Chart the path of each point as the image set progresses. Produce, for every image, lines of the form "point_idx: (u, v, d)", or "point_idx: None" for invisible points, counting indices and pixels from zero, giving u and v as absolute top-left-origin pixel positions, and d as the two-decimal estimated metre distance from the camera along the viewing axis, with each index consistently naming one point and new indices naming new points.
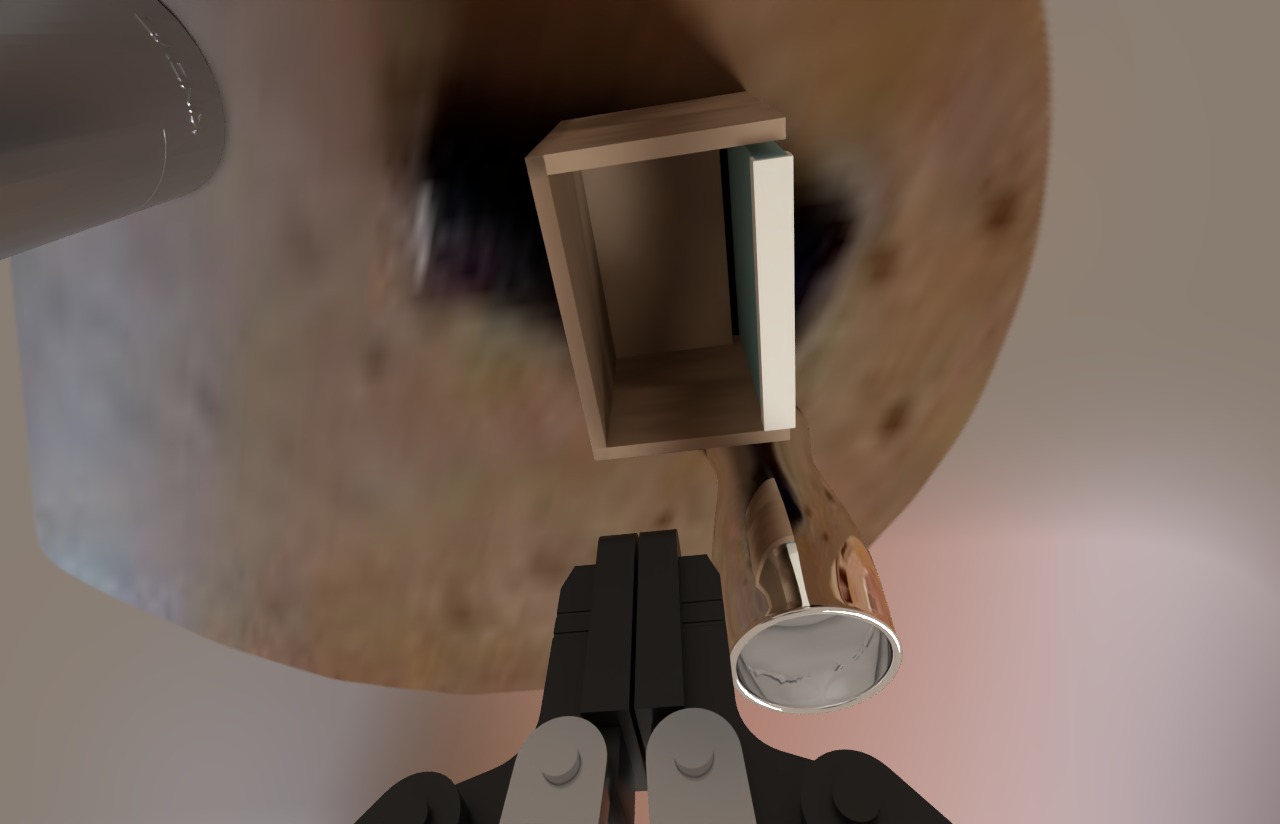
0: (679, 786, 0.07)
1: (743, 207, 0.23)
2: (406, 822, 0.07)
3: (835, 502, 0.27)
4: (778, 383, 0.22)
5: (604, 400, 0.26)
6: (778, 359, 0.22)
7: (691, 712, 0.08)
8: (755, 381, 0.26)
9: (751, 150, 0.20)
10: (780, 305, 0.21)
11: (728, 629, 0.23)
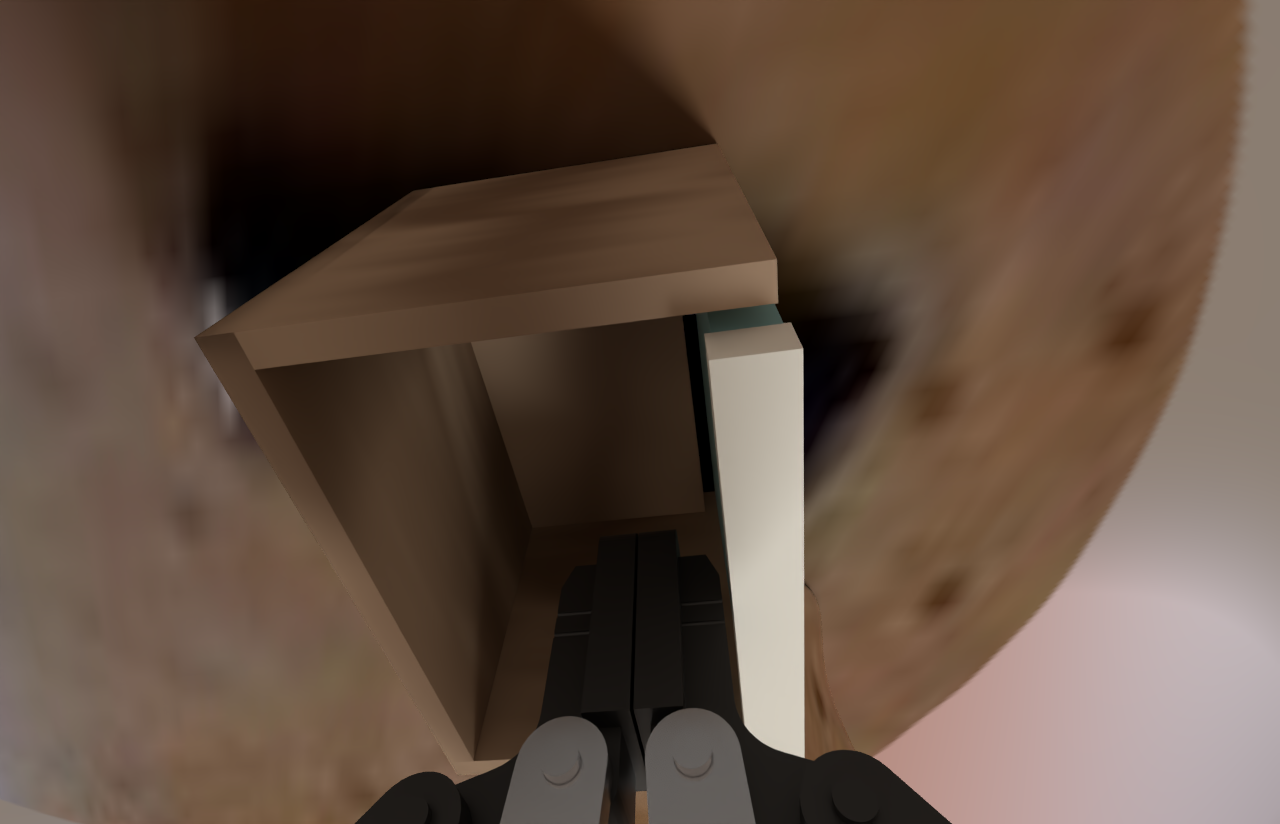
0: (678, 786, 0.07)
1: (707, 370, 0.12)
2: (406, 823, 0.07)
3: None
4: (773, 707, 0.12)
5: (478, 662, 0.15)
6: (772, 677, 0.11)
7: (690, 712, 0.08)
8: None
9: None
10: (776, 602, 0.10)
11: None
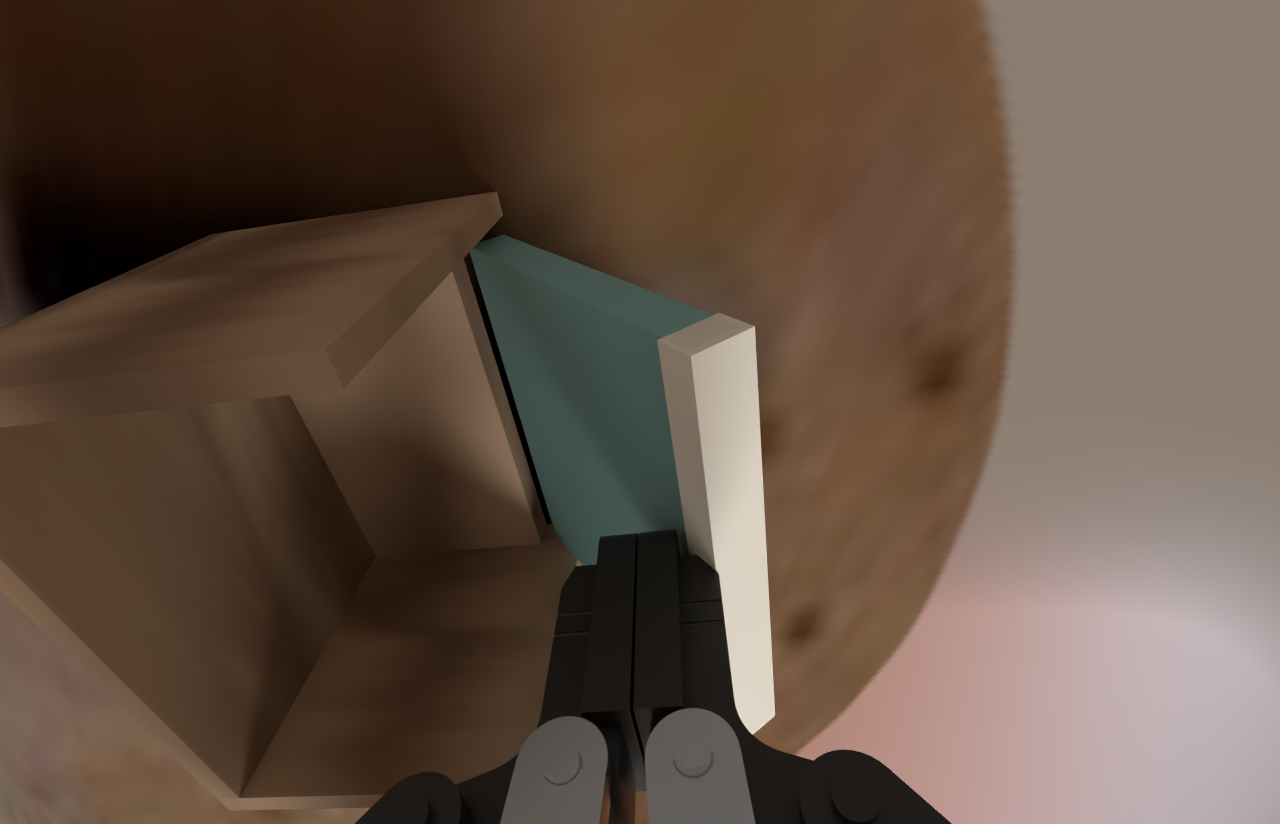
0: (678, 786, 0.07)
1: (586, 397, 0.13)
2: (407, 822, 0.07)
3: None
4: (751, 676, 0.13)
5: (260, 698, 0.16)
6: (749, 646, 0.12)
7: (690, 712, 0.08)
8: None
9: (632, 318, 0.10)
10: (748, 570, 0.11)
11: None
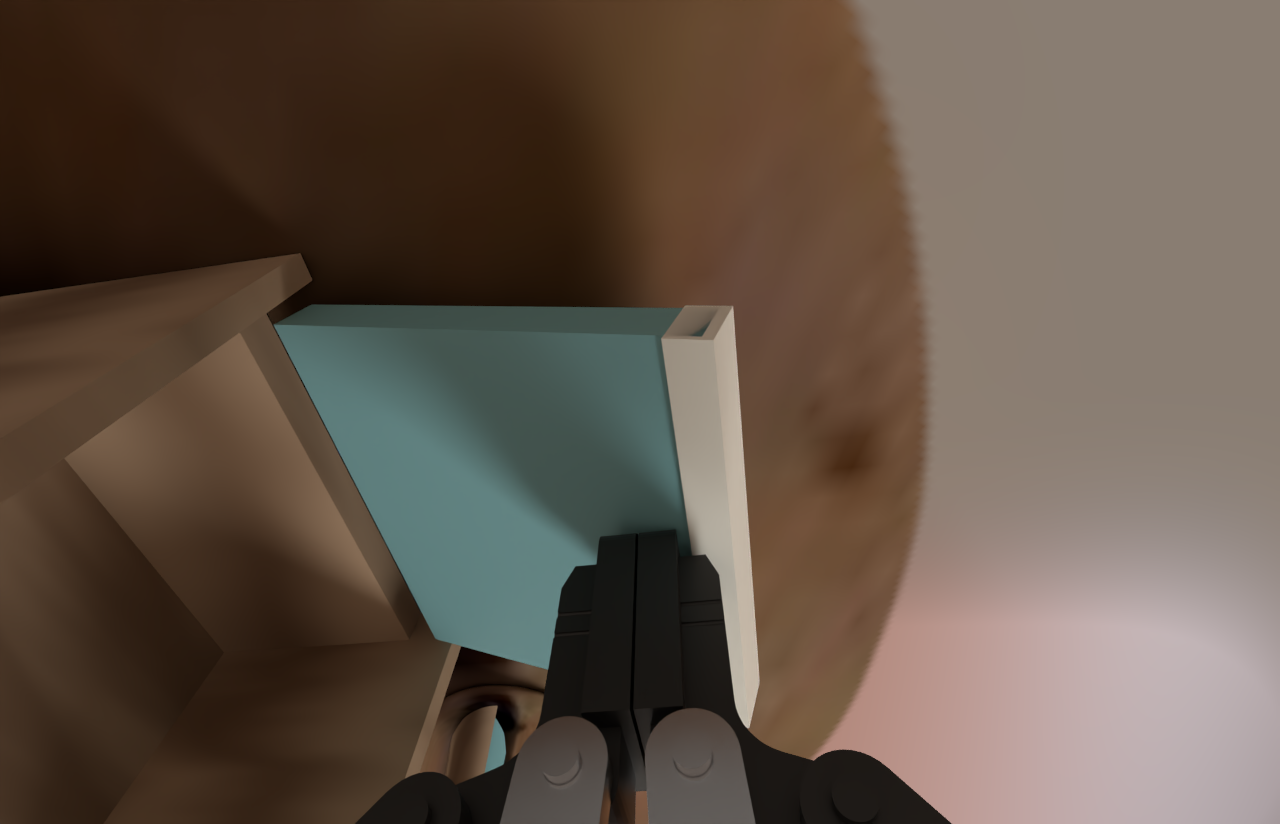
0: (678, 786, 0.07)
1: (519, 443, 0.11)
2: (407, 822, 0.07)
3: None
4: (750, 649, 0.13)
5: None
6: (748, 619, 0.13)
7: (690, 712, 0.08)
8: None
9: (607, 330, 0.09)
10: (743, 543, 0.12)
11: None
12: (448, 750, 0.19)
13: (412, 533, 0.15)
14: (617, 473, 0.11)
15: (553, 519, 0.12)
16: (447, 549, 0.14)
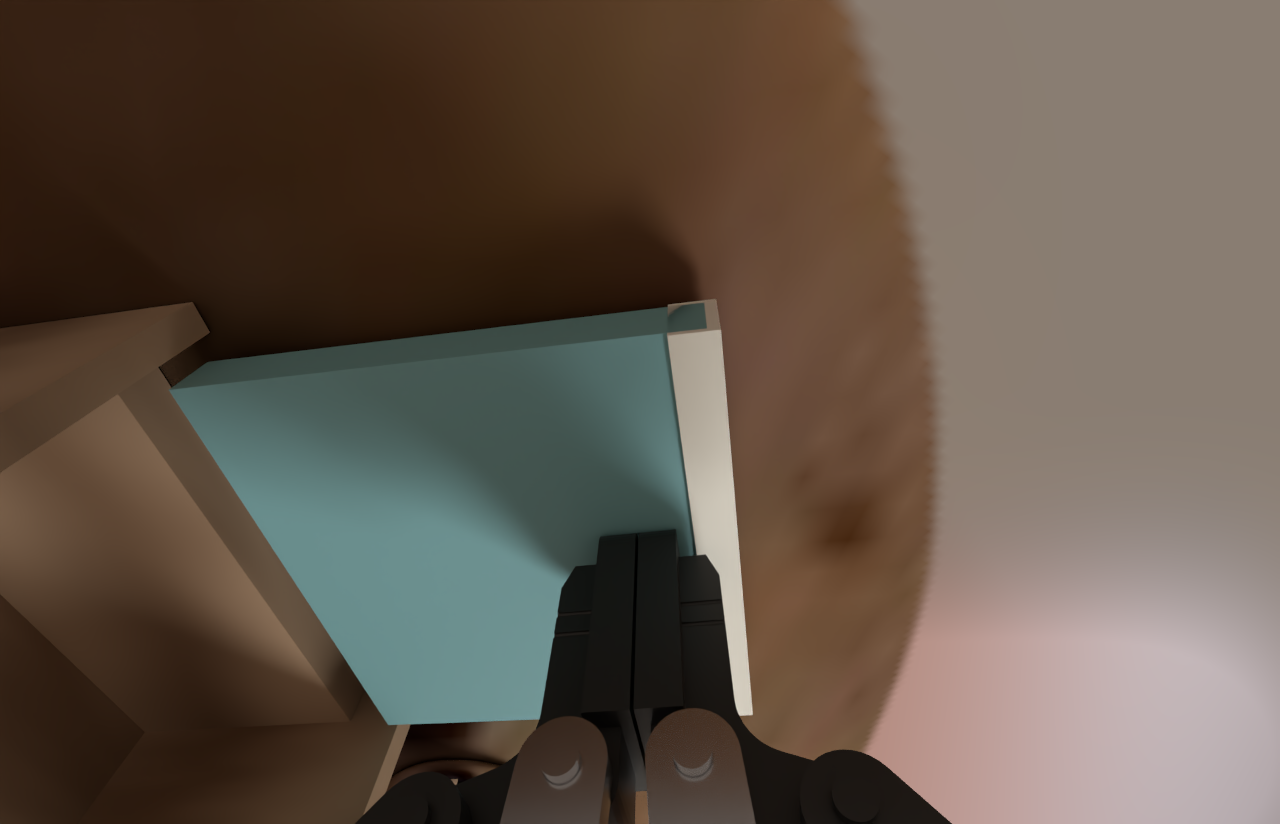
0: (678, 786, 0.07)
1: (502, 475, 0.11)
2: (407, 823, 0.07)
3: None
4: None
5: None
6: None
7: (690, 712, 0.08)
8: None
9: (604, 337, 0.09)
10: None
11: None
12: None
13: (361, 606, 0.13)
14: (615, 484, 0.11)
15: (541, 550, 0.12)
16: (407, 614, 0.13)
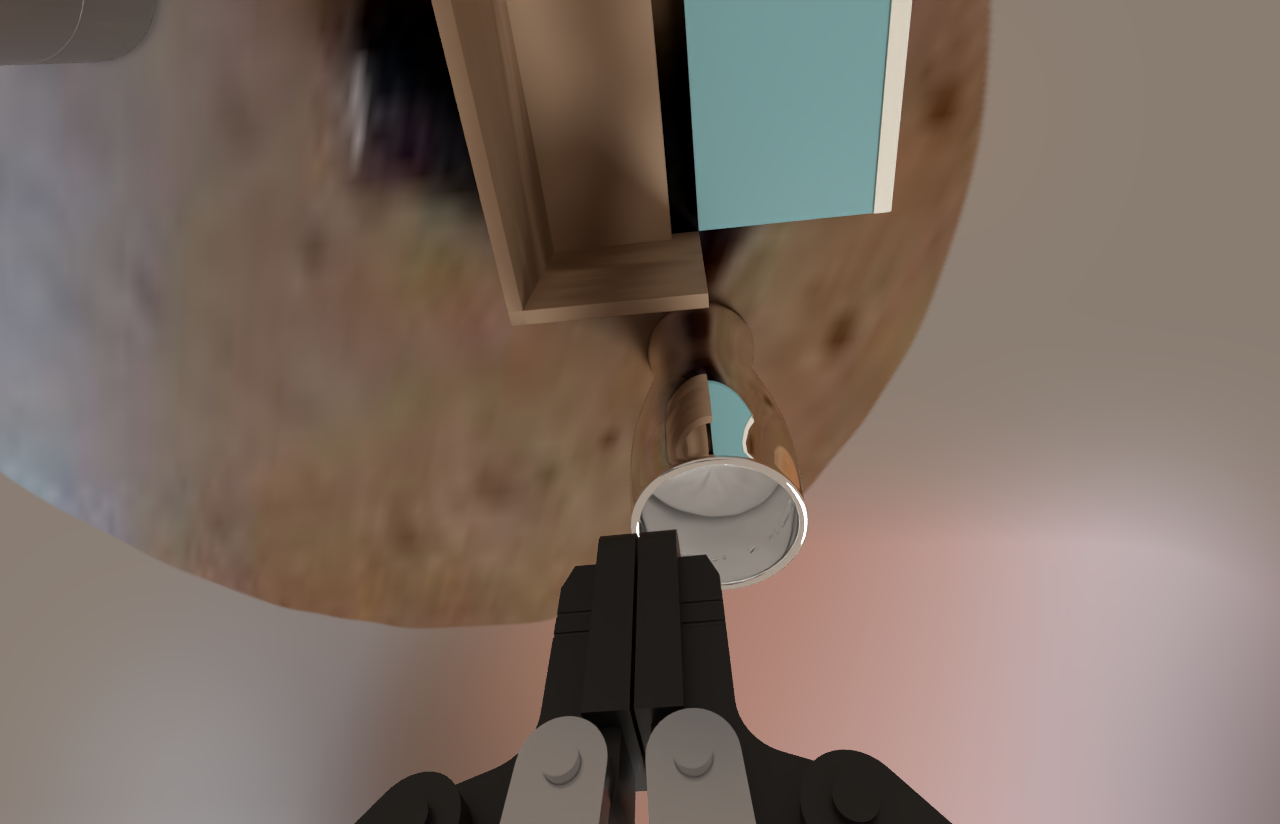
0: (678, 786, 0.07)
1: (809, 37, 0.25)
2: (407, 822, 0.07)
3: (759, 384, 0.26)
4: None
5: (525, 268, 0.25)
6: None
7: (690, 712, 0.08)
8: (826, 207, 0.29)
9: None
10: None
11: (633, 492, 0.23)
12: (681, 325, 0.32)
13: (717, 130, 0.27)
14: (856, 43, 0.25)
15: (814, 87, 0.26)
16: (738, 136, 0.28)
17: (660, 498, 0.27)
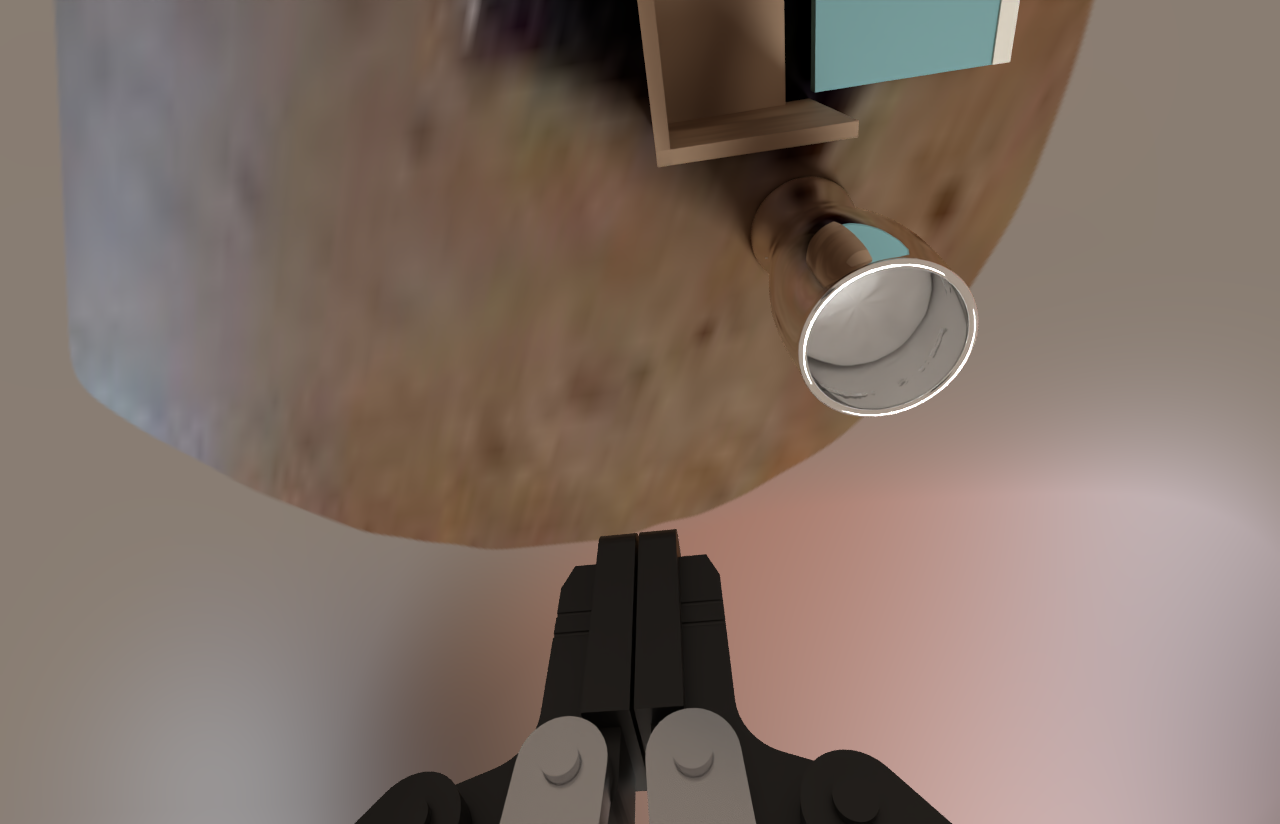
0: (679, 786, 0.07)
1: None
2: (407, 823, 0.07)
3: None
4: None
5: None
6: None
7: (691, 712, 0.08)
8: (945, 60, 0.29)
9: None
10: None
11: (798, 314, 0.23)
12: (792, 196, 0.32)
13: None
14: None
15: None
16: None
17: None
